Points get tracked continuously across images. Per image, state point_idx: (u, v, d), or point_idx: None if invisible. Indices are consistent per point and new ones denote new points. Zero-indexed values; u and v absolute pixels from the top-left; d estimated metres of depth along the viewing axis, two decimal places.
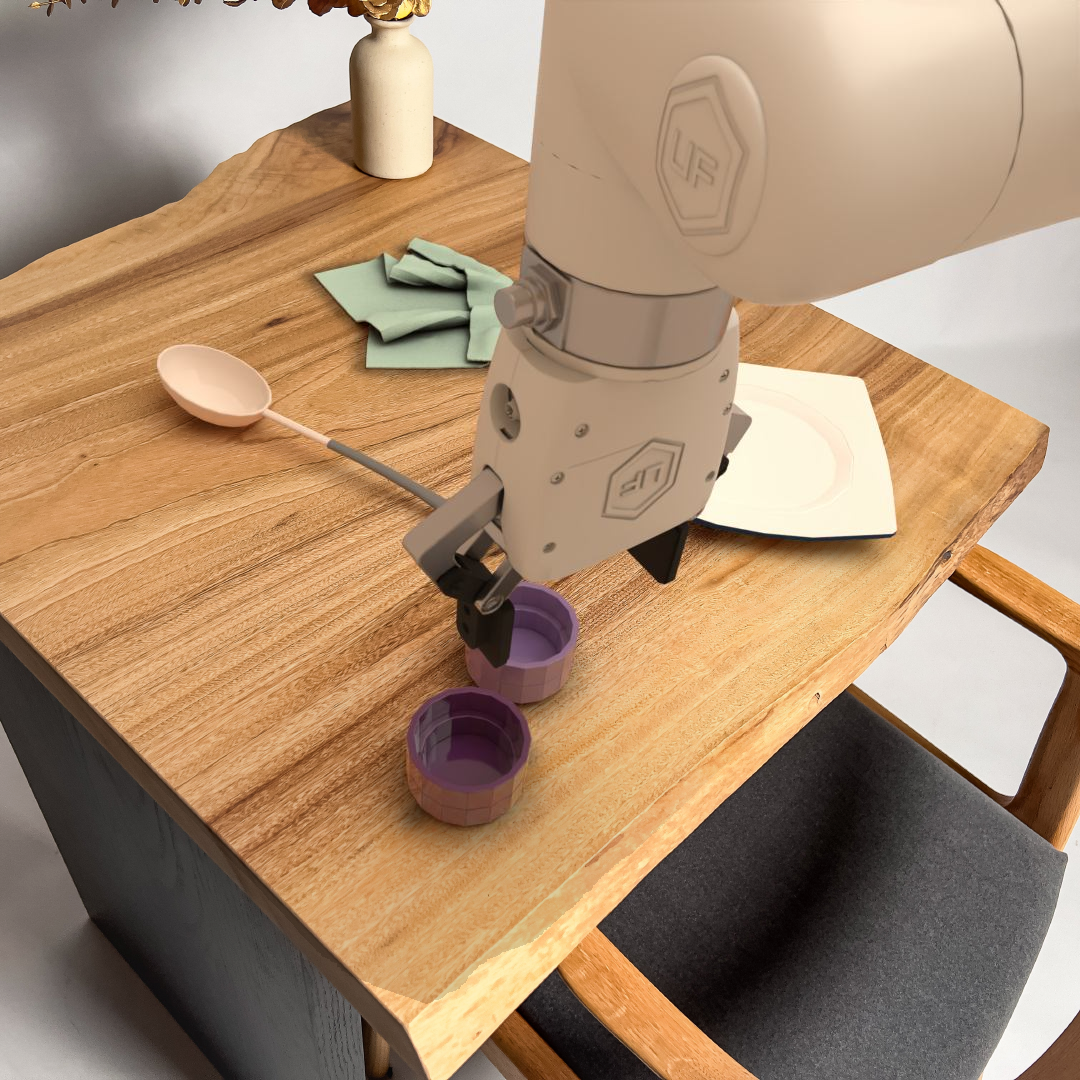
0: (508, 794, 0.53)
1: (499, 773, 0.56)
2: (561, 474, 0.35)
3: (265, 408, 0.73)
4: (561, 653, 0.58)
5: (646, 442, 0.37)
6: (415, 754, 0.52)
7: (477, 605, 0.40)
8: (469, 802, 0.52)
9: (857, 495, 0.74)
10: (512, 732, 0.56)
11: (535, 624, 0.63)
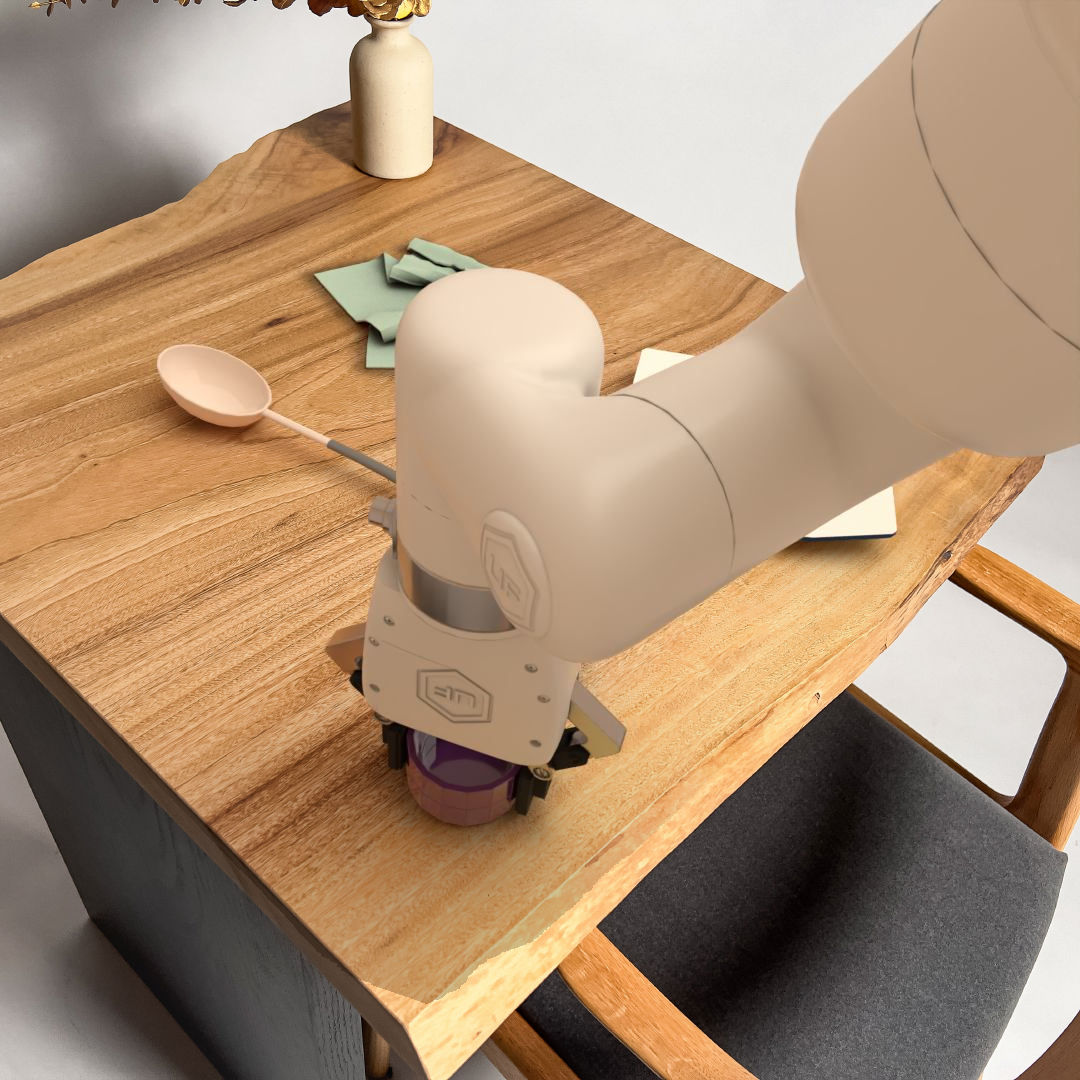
0: (508, 794, 0.53)
1: (499, 773, 0.56)
2: (378, 641, 0.46)
3: (265, 408, 0.73)
4: None
5: (448, 667, 0.45)
6: (415, 754, 0.52)
7: None
8: (469, 802, 0.52)
9: None
10: None
11: None
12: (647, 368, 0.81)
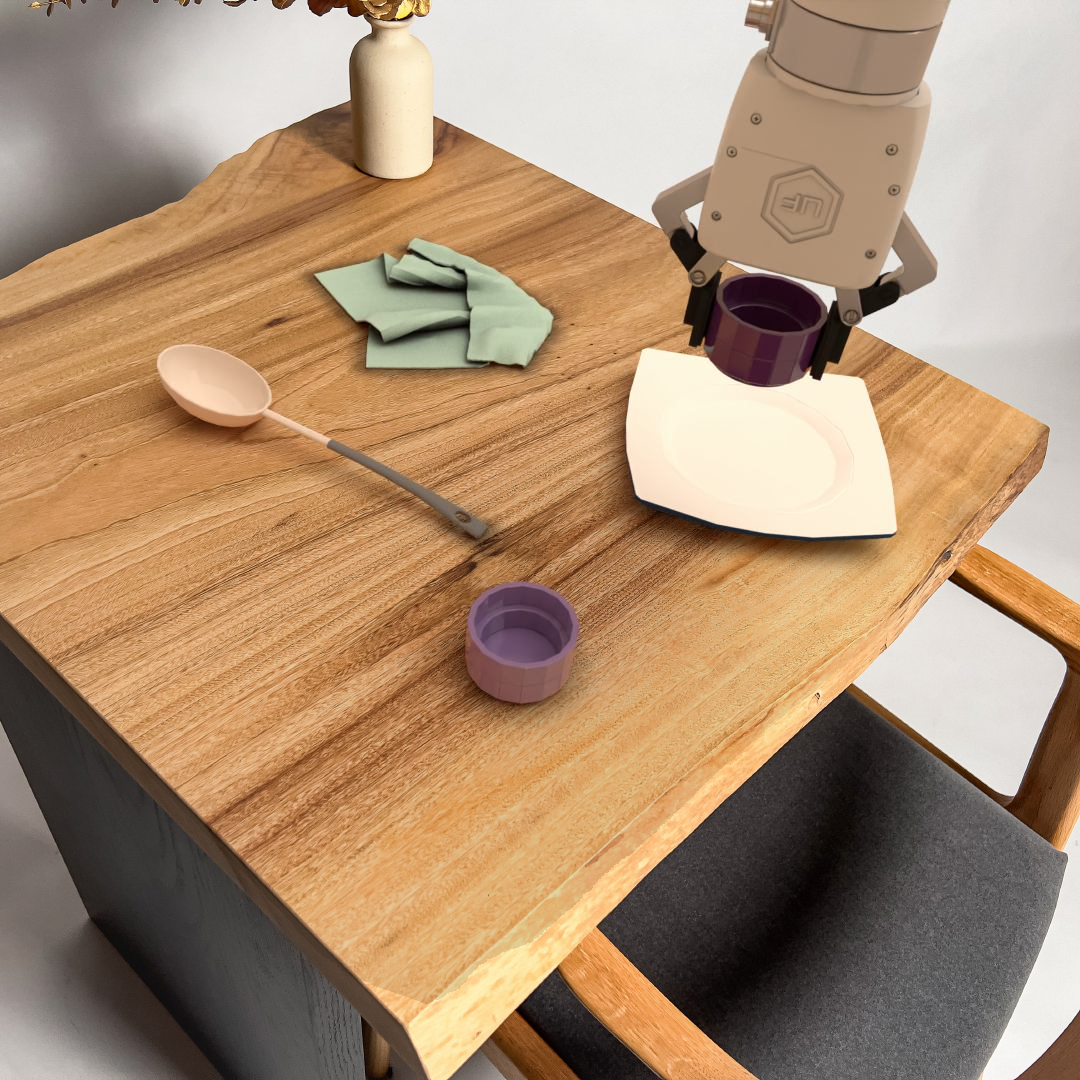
0: (810, 352, 0.58)
1: None
2: (736, 151, 0.51)
3: (265, 408, 0.73)
4: (561, 653, 0.58)
5: (806, 165, 0.50)
6: (728, 311, 0.57)
7: None
8: (781, 350, 0.57)
9: (857, 495, 0.74)
10: (798, 316, 0.61)
11: (535, 624, 0.63)
12: (647, 368, 0.81)
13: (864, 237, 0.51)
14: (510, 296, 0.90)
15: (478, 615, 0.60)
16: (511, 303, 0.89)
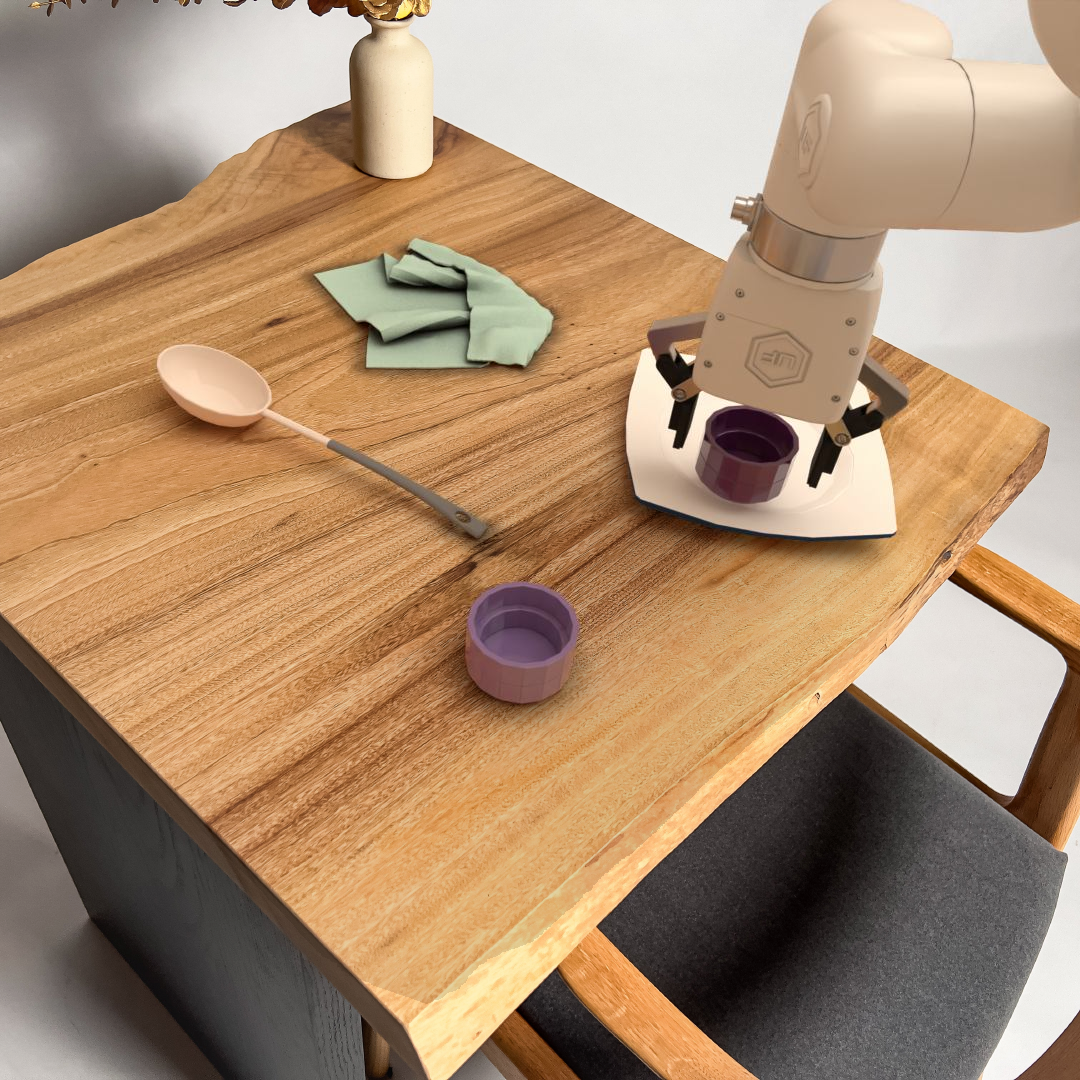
0: (783, 476, 0.69)
1: None
2: (723, 316, 0.61)
3: (265, 408, 0.73)
4: (561, 653, 0.58)
5: (781, 330, 0.60)
6: (715, 443, 0.68)
7: (672, 389, 0.68)
8: (759, 477, 0.68)
9: (857, 495, 0.74)
10: (775, 441, 0.72)
11: (535, 624, 0.63)
12: (647, 368, 0.81)
13: (830, 386, 0.62)
14: (510, 296, 0.90)
15: (478, 615, 0.60)
16: (511, 303, 0.89)
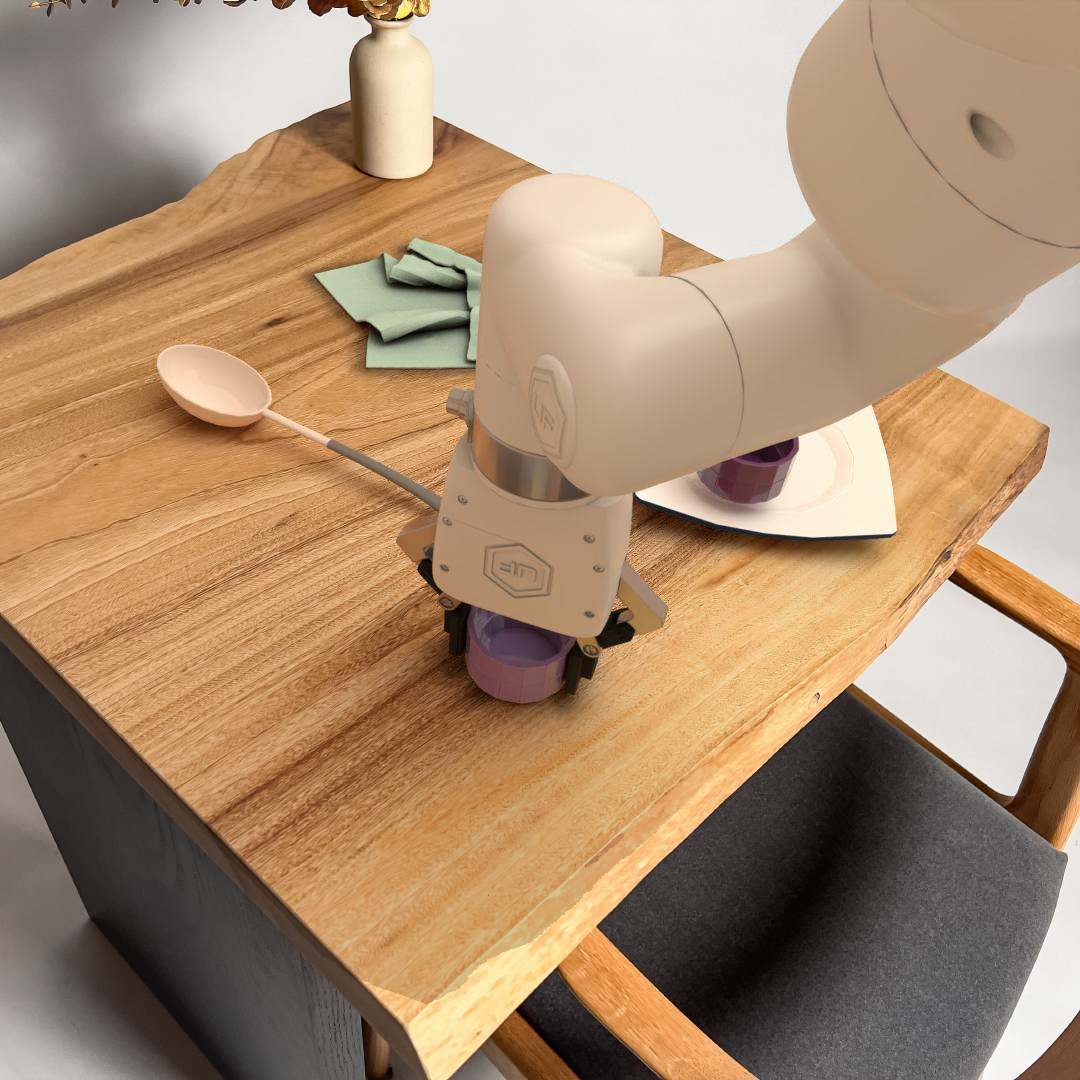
0: (783, 476, 0.69)
1: None
2: (451, 521, 0.51)
3: (265, 408, 0.73)
4: (561, 653, 0.58)
5: (514, 542, 0.51)
6: None
7: None
8: (759, 477, 0.68)
9: (857, 495, 0.74)
10: None
11: None
12: None
13: (580, 601, 0.52)
14: None
15: (478, 615, 0.60)
16: None
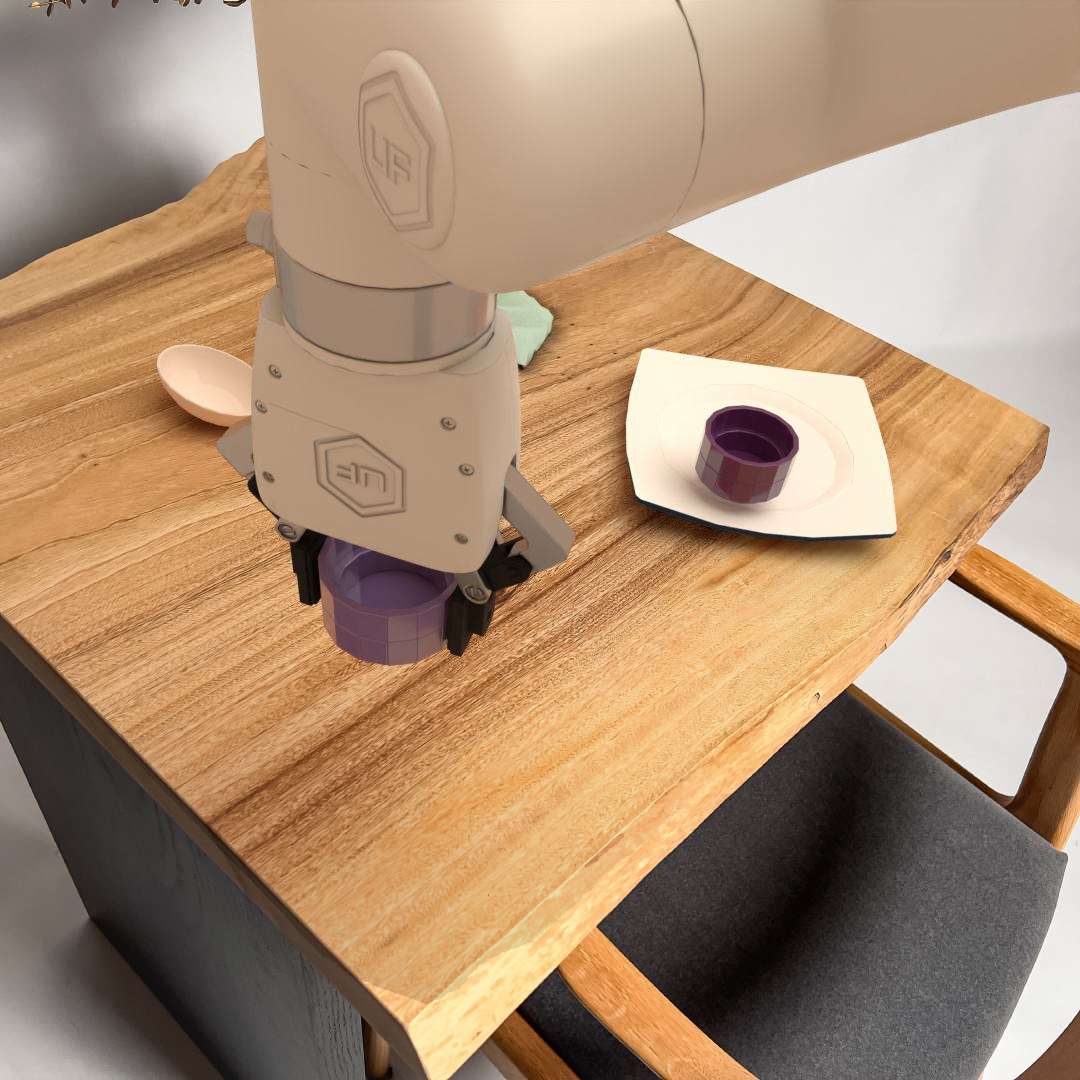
0: (783, 476, 0.69)
1: None
2: (266, 406, 0.37)
3: None
4: (439, 598, 0.43)
5: (350, 433, 0.36)
6: (715, 443, 0.68)
7: None
8: (759, 477, 0.68)
9: (857, 495, 0.74)
10: (775, 441, 0.72)
11: (418, 566, 0.48)
12: (647, 368, 0.81)
13: (447, 519, 0.38)
14: (510, 296, 0.90)
15: (337, 551, 0.46)
16: (511, 303, 0.89)
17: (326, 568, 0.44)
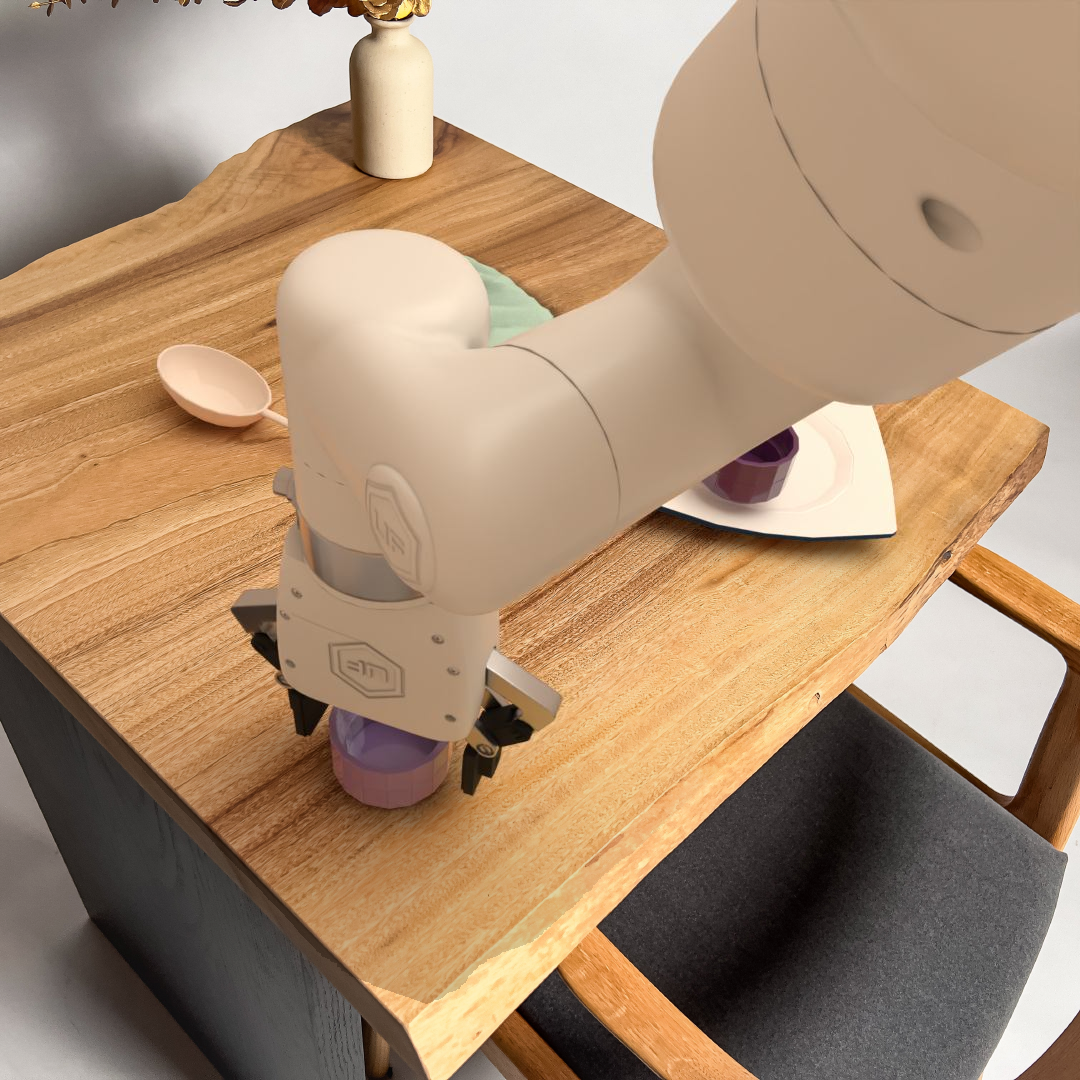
0: (783, 476, 0.69)
1: None
2: (289, 614, 0.45)
3: (265, 408, 0.73)
4: (430, 756, 0.52)
5: (358, 640, 0.44)
6: None
7: None
8: (759, 477, 0.68)
9: (857, 495, 0.74)
10: (775, 441, 0.72)
11: None
12: None
13: (438, 704, 0.46)
14: (510, 296, 0.90)
15: None
16: (511, 303, 0.89)
17: (336, 729, 0.53)
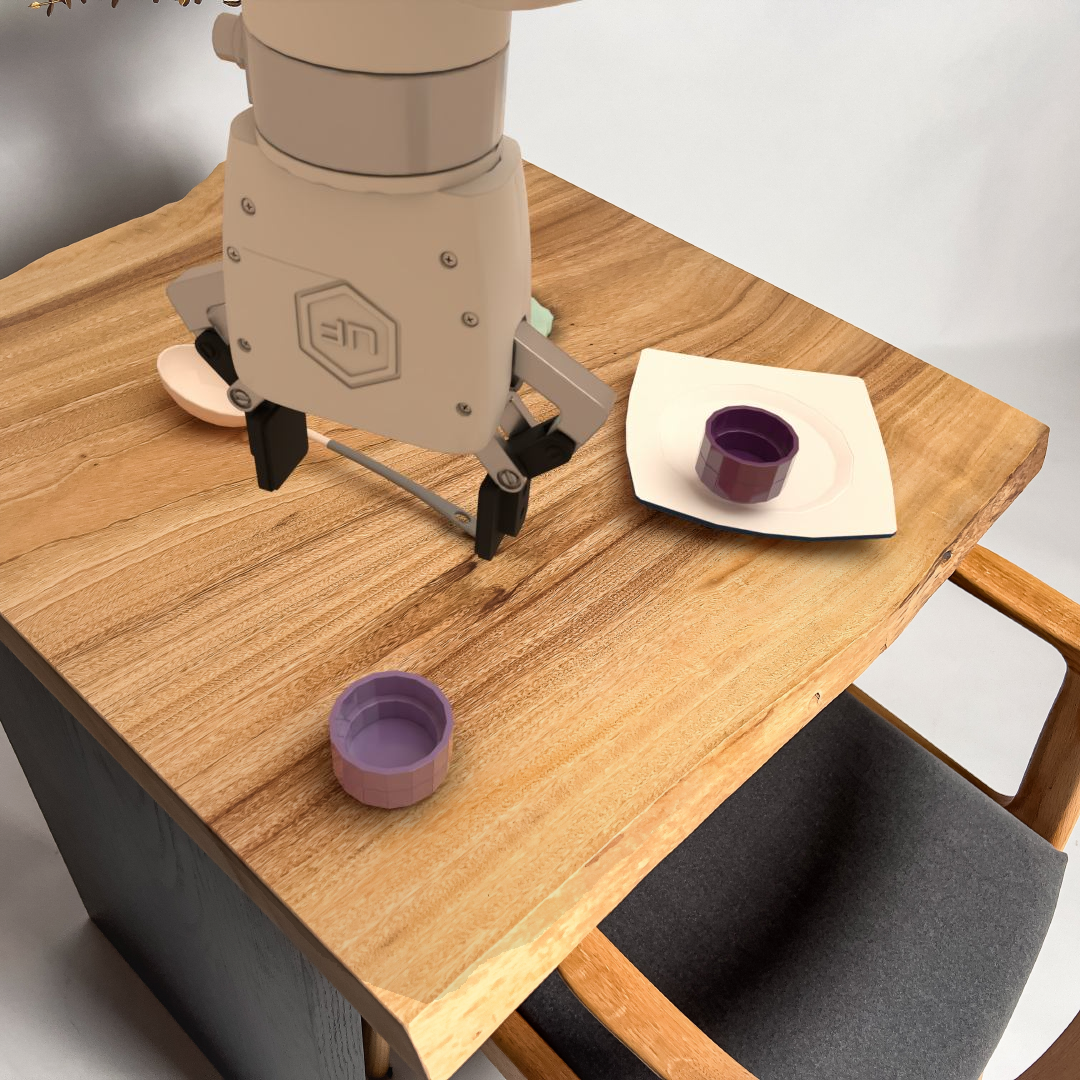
0: (783, 476, 0.69)
1: None
2: (239, 253, 0.32)
3: None
4: (430, 756, 0.52)
5: (335, 279, 0.31)
6: (715, 443, 0.68)
7: None
8: (759, 477, 0.68)
9: (857, 495, 0.74)
10: (775, 441, 0.72)
11: (413, 715, 0.57)
12: (647, 368, 0.81)
13: (447, 385, 0.33)
14: None
15: (345, 709, 0.55)
16: None
17: (336, 729, 0.53)
